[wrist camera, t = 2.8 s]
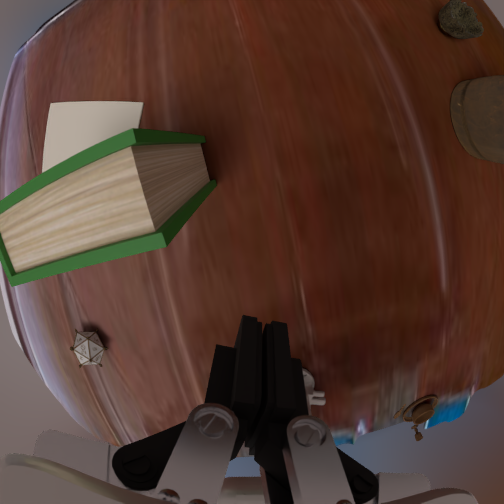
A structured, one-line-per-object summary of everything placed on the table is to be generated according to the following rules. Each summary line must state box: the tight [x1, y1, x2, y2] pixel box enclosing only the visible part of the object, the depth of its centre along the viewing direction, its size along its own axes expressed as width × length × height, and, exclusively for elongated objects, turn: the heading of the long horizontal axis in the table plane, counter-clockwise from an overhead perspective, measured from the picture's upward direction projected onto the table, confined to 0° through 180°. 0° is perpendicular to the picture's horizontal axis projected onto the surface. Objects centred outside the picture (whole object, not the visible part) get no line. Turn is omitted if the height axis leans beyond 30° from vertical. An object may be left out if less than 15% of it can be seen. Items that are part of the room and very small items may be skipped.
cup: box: [437, 0, 484, 39], centre depth 21 cm, size 8×7×8 cm
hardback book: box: [0, 128, 217, 287], centre depth 26 cm, size 18×7×24 cm, turn 103°
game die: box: [70, 328, 108, 368], centre depth 47 cm, size 9×8×10 cm
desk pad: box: [42, 101, 144, 173], centre depth 37 cm, size 20×22×1 cm
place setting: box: [394, 395, 438, 441], centre depth 58 cm, size 18×20×6 cm
